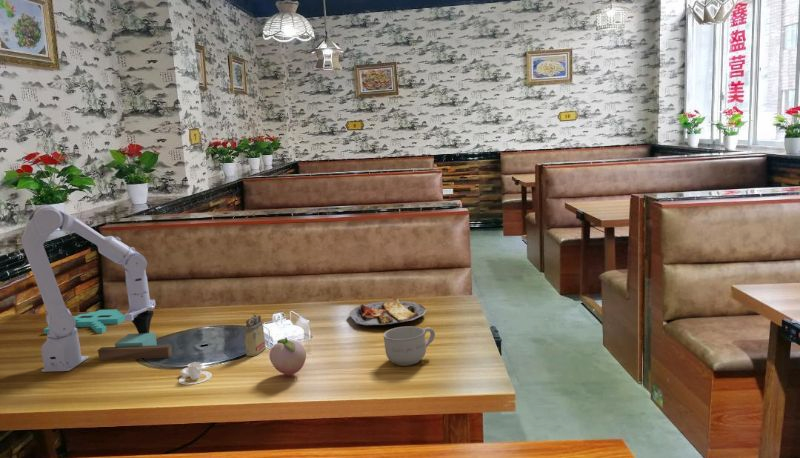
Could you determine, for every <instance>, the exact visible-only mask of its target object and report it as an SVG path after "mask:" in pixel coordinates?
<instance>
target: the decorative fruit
mask: <svg viewBox="0 0 800 458" xmlns="http://www.w3.org/2000/svg"><path fill="white" fill-rule="evenodd" d="M284 337H285V336H284ZM268 356H269V359H270V363H271V364H272V366H273V367H274V368H275V370H276V371H278V373H280V374H283V375H285V376H287V377H291V376H293V375H295V374H297V373H298V372H300V371H301V369H302V368H303V366H304V364H305V362H306V359H307V351H306V348H305V346H304V345H303V344H302V343H300V342H298V341H297V340H293V339H288V337H285V338H282V339H281V338H280V339H278V340H277V343H275V344H274V345H273V346H272V348H271V349H270V352H269V355H268Z"/></svg>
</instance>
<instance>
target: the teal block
mask: <svg viewBox="0 0 800 458" xmlns="http://www.w3.org/2000/svg"><path fill="white" fill-rule="evenodd" d="M150 345H158V343H157V335H156V332H149V333H128V334H126V335H125V336H123V337H122V338H120V340H118V341H116V342H115V343H114V347H124V346H150Z"/></svg>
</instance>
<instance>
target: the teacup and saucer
mask: <svg viewBox="0 0 800 458" xmlns="http://www.w3.org/2000/svg"><path fill="white" fill-rule="evenodd" d="M201 363H202V362H200V361H193V362H190V363H188V364H187V367H185V368H183V369H181V370H180V375H181V377H180V378H179V379H178V383H179V384H181V385H184V386H187V385H188V386H189V385H191V386H192V385H198V384H201V383H204V382H206V381H208V380H210V379H211V378H212V377H213V376H212V375H213V374H212V373H211V372H210V371H206V370H202V364H201ZM202 375H204V376H206V377H204V379H202V380H200V381H196V380H199V379H201V376H202ZM186 378H190V379H191V380H192V381H193V382H187V381H185V379H186ZM194 381H195V382H194Z"/></svg>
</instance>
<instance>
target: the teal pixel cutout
mask: <svg viewBox="0 0 800 458" xmlns="http://www.w3.org/2000/svg"><path fill="white" fill-rule="evenodd" d="M72 316H73V317H74V318H75V321H76V325H75V328H90V329H91V330H93V332H95V334H104V333H106V332H107V326H106V325H119V324H121V323H122V322H124V321H125V314H123V312H121V311H119V310H118V309H117V308H115V309H98V310H96V311H89V312H87V313H80V314H77V315H72ZM49 330H50V329H49V326H47V327H45V328H43V334H47V333H48V332H49ZM103 332H104V333H103Z"/></svg>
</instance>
